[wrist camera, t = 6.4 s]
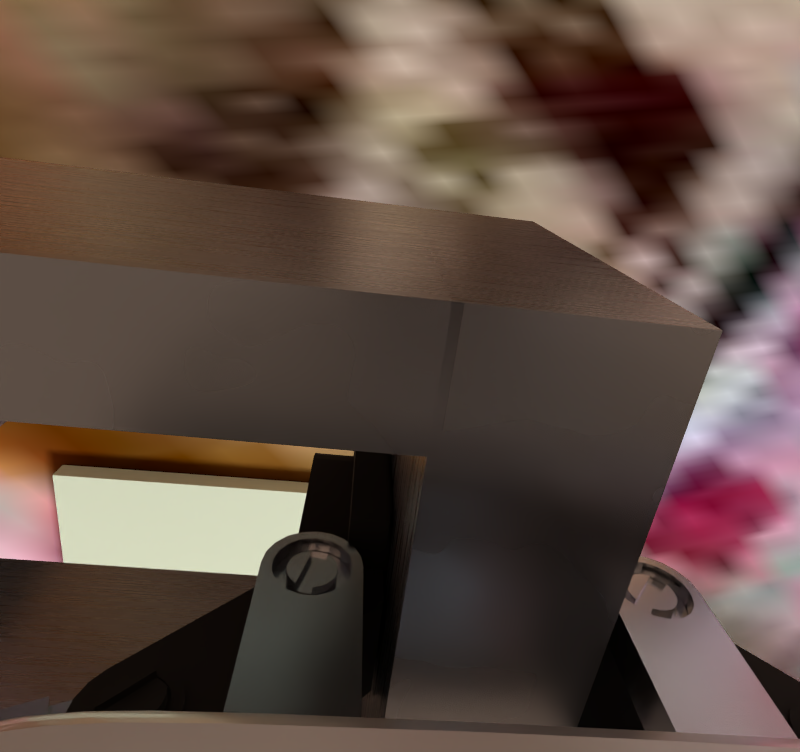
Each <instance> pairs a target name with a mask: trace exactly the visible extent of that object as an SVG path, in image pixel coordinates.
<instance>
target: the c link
mask: <svg viewBox="0 0 800 752" xmlns="http://www.w3.org/2000/svg"><path fill="white" fill-rule="evenodd" d="M721 333H722V330H720V329H719V328H717V327H715V326H714V325H712V324H710V323H708V322H707V321H705V320H703V319H701V318H700V317H698V316H696V315H694V314H693V313H691V312H689V311H687V310H686V309H684V308H682V307H681V306H679V305H677V304H675V303H674V302H672V301H670V300H668V299H667V298H665V297H663V296H661V295H660V294H658V293H656V292H654V291H653V290H651V289H649V288H647V287H646V286H644V285H642V284H641V283H639V282H637V281H635V280H634V279H632V278H630V277H628V276H627V275H625V274H623V273H621V272H620V271H618V270H616V269H614V268H613V267H611V266H609V265H608V264H606V263H604V262H602V261H601V260H599V259H597V258H595V257H594V256H592V255H590V254H588V253H587V252H585V251H583V250H581V249H580V248H578V247H576V246H574V245H573V244H571V243H569V242H568V241H566V240H564V239H562V238H561V237H559V236H557V235H555V234H554V233H552V232H550V231H548V230H547V229H545V228H543V227H541V226H540V225H538V224H536V223H535V222H532V221H524V220H515V219H507V218H499V217H490V216H482V215H474V214H466V213H457V212H449V211H441V210H433V209H424V208H416V207H408V206H399V205H391V204H383V203H375V202H366V201H358V200H350V199H342V198H333V197H325V196H317V195H309V194H300V193H292V192H284V191H275V190H267V189H259V188H251V187H242V186H234V185H226V184H218V183H209V182H201V181H193V180H184V179H176V178H168V177H160V176H151V175H143V174H135V173H127V172H118V171H110V170H102V169H93V168H85V167H77V166H69V165H60V164H52V163H44V162H36V161H27V160H19V159H11V158H3V157H0V421H12V422H23V423H35V424H47V425H59V426H70V427H82V428H94V429H105V430H117V431H129V432H141V433H152V434H164V435H176V436H188V437H199V438H211V439H223V440H234V441H246V442H258V443H270V444H281V445H293V446H305V447H316V448H328V449H340V450H352V451H363V452H375V453H387V454H391V459H392V484H393V512H394V515H393V532H392V541H391V548H390V555H389V562H388V569H387V576H386V583H385V590H384V597H383V600H384V602H383V609H382V616H381V623H380V630H379V637H378V644H377V651H376V658H375V665H374V672H373V679H372V686H371V691H370V692H369V693H368V694H367V695H365V696H364V697H363V698H362V712H361V717H364V718H387V719H410V720H433V721H457V722H479V723H499V724H520V725H541V726H562V727H577V726H578V723H579V721H580V718H581V715H582V712H583V710H584V707H585V704H586V702H587V699H588V696H589V693H590V691H591V688H592V685H593V682H594V680H595V677H596V674H597V672H598V669H599V666H600V663H601V661H602V658H603V655H604V652H605V650H606V647H607V644H608V642H609V639H610V636H611V633H612V631H613V628H614V625H615V622H616V620H617V617H618V614H619V612H620V609H621V606H622V603H623V601H624V598H625V595H626V592H627V590H628V587H629V584H630V582H631V579H632V576H633V573H634V571H635V568H636V565H637V562H638V560H639V557H640V554H641V552H642V549H643V546H644V543H645V541H646V538H647V535H648V532H649V530H650V527H651V524H652V522H653V519H654V516H655V513H656V511H657V508H658V505H659V502H660V500H661V497H662V494H663V492H664V489H665V486H666V483H667V481H668V478H669V475H670V472H671V470H672V467H673V464H674V462H675V459H676V456H677V453H678V451H679V448H680V445H681V442H682V440H683V437H684V434H685V432H686V429H687V426H688V423H689V421H690V418H691V415H692V412H693V410H694V407H695V404H696V401H697V399H698V396H699V393H700V391H701V388H702V385H703V382H704V380H705V377H706V374H707V371H708V369H709V366H710V363H711V361H712V358H713V355H714V352H715V350H716V347H717V344H718V341H719V339H720V336H721ZM256 580H257V576H256V575H241V574H226V573H211V572H196V571H181V570H166V569H151V568H136V567H121V566H106V565H91V564H76V563H61V562H46V561H31V560H16V559H1V558H0V710H1V709H4V708H8V707H12V706H15V705H19V704H23V703H26V702H30V701H34V700H37V699H41V698H45V697H48V696H49V699H50V704H51V706H52V705H56V704H59V703H63V702H66V701H70V700H73V699H74V697H75V696H76V695H77V694H78V693H79V692H80V691H81V690H82V689H83V688H84V686H85V685H86V684H87V683H88V682H89V681H91V680H92V679H93V678H95V677H96V676H98V675H99V674H101V673H102V672H103V671H105V670H106V669H108V668H110V667H112V666H113V665H115V664H117V663H119V662H121V661H122V660H124V659H126V658H128V657H130V656H131V655H133V654H135V653H137V652H139V651H140V650H142V649H144V648H146V647H147V646H149V645H151V644H153V643H155V642H156V641H158V640H160V639H162V638H164V637H165V636H167V635H169V634H171V633H173V632H174V631H176V630H178V629H180V628H182V627H183V626H185V625H187V624H189V623H191V622H192V621H194V620H196V619H198V618H200V617H201V616H203V615H205V614H207V613H209V612H210V611H212V610H214V609H216V608H218V607H219V606H221V605H223V604H225V603H227V602H228V601H230V600H232V599H234V598H236V597H237V596H239V595H241V594H243V593H245V592H246V591H248V590H250V589H252V588H254V587H255V584H256Z"/></svg>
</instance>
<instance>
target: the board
mask: <svg viewBox="0 0 800 752" xmlns="http://www.w3.org/2000/svg"><path fill="white" fill-rule="evenodd" d="M53 483H54V491H55V499H56V507H57V515H58V523H59V531H60V539H61V546H62V554H63V562H64V563H76V564H91V565H106V566H121V567H136V568H151V569H166V570H181V571H196V572H211V573H226V574H241V575H256V576H258V572H259V568H260V564H261V561H262V559H263V557H264V555H265V553H266V551H267V550H268V549H269V548H270V547H271V546H272V545H273V544H274V543H275V542H277V541H279V540H281V539H283V538H285V537H286V536H289V535H293V534H297V533H299V528H300V523H301V518H302V513H303V508H304V503H305V499H306V494H307V489H308V484H309V483H307V482H293V481H279V480H265V479H252V478H238V477H224V476H210V475H197V474H183V473H169V472H155V471H142V470H128V469H114V468H100V467H87V466H73V465H62V466H61V467H60V468H59V469H58V470H57V471H56V472H55V473H54V474H53Z"/></svg>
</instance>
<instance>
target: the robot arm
mask: <svg viewBox="0 0 800 752" xmlns="http://www.w3.org/2000/svg"><path fill="white" fill-rule="evenodd" d="M393 515H394V512H393V484H392V459H391V454H387V453H375V452H363V451H354V456H343V455H331V454H320V453H315V455H314V459H313V464H312V469H311V474H310V479H309V484H308V489H307V494H306V499H305V503H304V508H303V513H302V518H301V523H300V528H299V533H297V534H293V535H289V536H286V537H285V538H283V539H281V540H279V541H277V542H275V543H274V544H273V545H272V546H271V547H270V548H269V549H268V550H267V551H266V553H265V555H264V557H263V559H262V561H261V564H260V568H259V572H258V576H257V580H256V584H255V587H254V588H252V589H250V590H248V591H246V592H245V593H243V594H241V595H239V596H237V597H236V598H234V599H232V600H230V601H228V602H227V603H225V604H223V605H221V606H219V607H218V608H216V609H214V610H212V611H210V612H209V613H207V614H205V615H203V616H201V617H200V618H198V619H196V620H194V621H192V622H191V623H189V624H187V625H185V626H183V627H182V628H180V629H178V630H176V631H174V632H173V633H171V634H169V635H167V636H165V637H164V638H162V639H160V640H158V641H156V642H155V643H153V644H151V645H149V646H147V647H146V648H144V649H142V650H140V651H139V652H137V653H135V654H133V655H131V656H130V657H128V658H126V659H124V660H122V661H121V662H119V663H117V664H115V665H113V666H112V667H110V668H108V669H106V670H105V671H103V672H102V673H101V674H99V675H98V676H96V677H95V678H93V679H92V680H91V681H89V682H88V683H87V684H86V685H85V686H84V688H83V689H82V690H81V691H80V692H79V693H78V694H77V695H76V696H75V697H74V699H73V700H70V701H66V702H63V703H59V704H56V705H52V706H51V704H50V699H49V696H48V697H45V698H41V699H37V700H34V701H30V702H26V703H23V704H19V705H15V706H12V707H8V708H4V709H1V710H0V752H800V682H799V681H797V680H795V679H794V678H792V677H790V676H788V675H787V674H785V673H783V672H782V671H780V670H778V669H776V668H775V667H773V666H771V665H770V664H768V663H766V662H765V661H763V660H761V659H759V658H758V657H756V656H754V655H753V654H751V653H749V652H748V651H746V650H744V649H742V648H741V647H739V646H737V645H736V644H734V643H733V642H732V640H731V639H730V637H729V636H728V634H727V633H726V631H725V630H724V628H723V627H722V625H721V624H720V622H719V621H718V619H717V618H716V616H715V615H714V614H713V612H712V611H711V609H710V608H709V606H708V605H707V603H706V602H705V600H704V599H703V597H702V596H701V594H700V593H699V592H698V590H697V589H696V588H695V587H694V586H693V585H692V583H691V582H690V581H689V580H687V579H686V578H685V577H684V576H682V575H681V574H680V573H678V572H677V571H676V570H674V569H672V568H670V567H668V566H667V565H665V564H663V563H660V562H658V561H655V560H652V559H650V558H646V557H641V556H640V557H639V560H638V562H637V565H636V568H635V571H634V573H633V576H632V579H631V582H630V584H629V587H628V590H627V592H626V595H625V598H624V601H623V603H622V606H621V609H620V612H619V614H618V617H617V620H616V622H615V625H614V628H613V631H612V633H611V636H610V639H609V642H608V644H607V647H606V650H605V652H604V655H603V658H602V661H601V663H600V666H599V669H598V672H597V674H596V677H595V680H594V682H593V685H592V688H591V691H590V693H589V696H588V699H587V702H586V704H585V707H584V710H583V712H582V715H581V718H580V721H579V723H578V726H577V727H562V726H541V725H520V724H499V723H479V722H457V721H433V720H410V719H387V718H364V717H361V712H362V698H363V697H364V696H365V695H367V694H368V693H369V692H370V691H371V686H372V679H373V672H374V665H375V658H376V651H377V644H378V637H379V630H380V623H381V616H382V609H383V602H384V600H383V597H384V590H385V583H386V576H387V569H388V562H389V555H390V548H391V541H392V532H393Z"/></svg>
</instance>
